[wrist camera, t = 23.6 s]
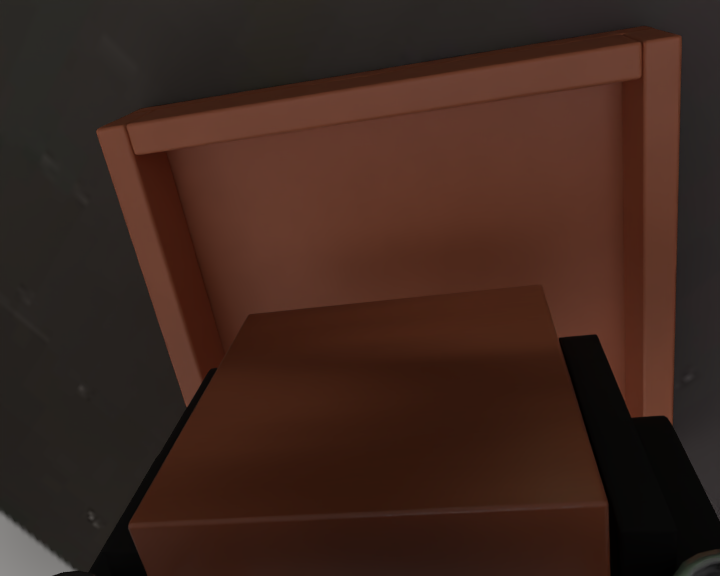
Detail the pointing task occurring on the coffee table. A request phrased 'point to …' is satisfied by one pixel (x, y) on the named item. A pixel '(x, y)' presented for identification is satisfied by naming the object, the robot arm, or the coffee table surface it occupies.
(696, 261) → the coffee table surface
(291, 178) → the terracotta tray
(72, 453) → the coffee table surface
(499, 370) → the block
